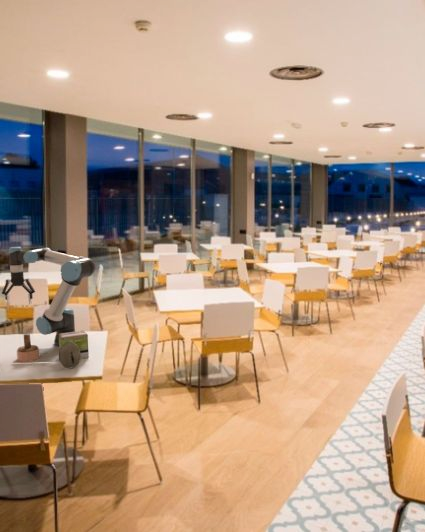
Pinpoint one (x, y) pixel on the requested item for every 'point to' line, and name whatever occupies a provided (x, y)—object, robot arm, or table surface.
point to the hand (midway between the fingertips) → (19, 304)
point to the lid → (27, 345)
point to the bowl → (28, 355)
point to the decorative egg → (69, 354)
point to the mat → (44, 351)
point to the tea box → (76, 341)
